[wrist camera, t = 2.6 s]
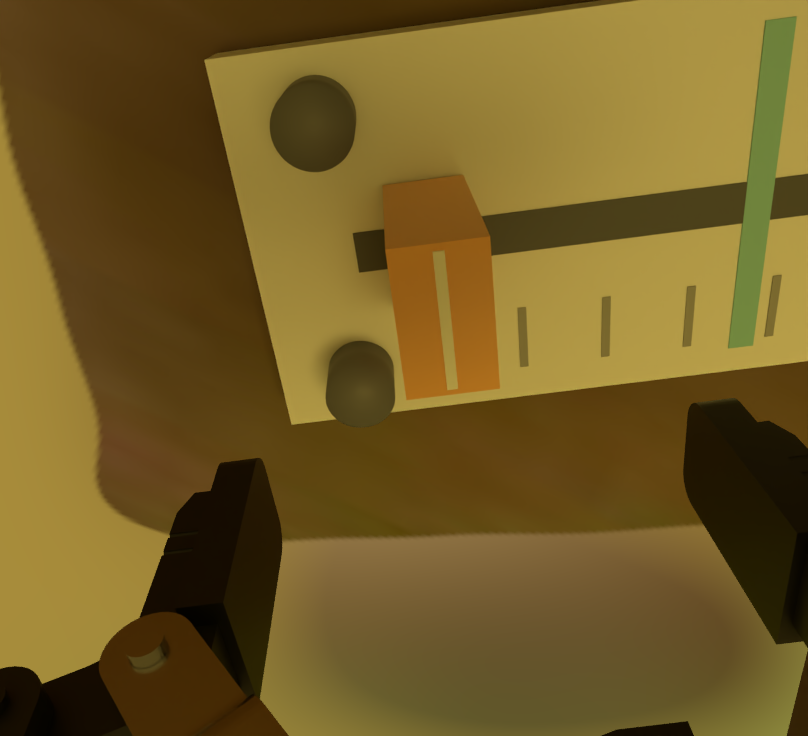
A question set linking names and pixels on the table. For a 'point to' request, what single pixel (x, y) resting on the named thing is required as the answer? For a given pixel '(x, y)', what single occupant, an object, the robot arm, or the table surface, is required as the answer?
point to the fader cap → (441, 287)
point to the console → (534, 191)
